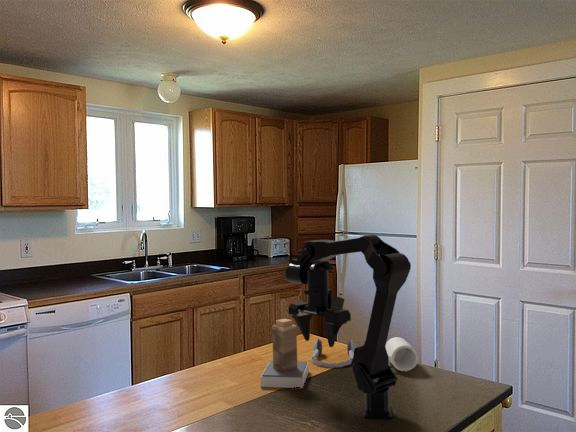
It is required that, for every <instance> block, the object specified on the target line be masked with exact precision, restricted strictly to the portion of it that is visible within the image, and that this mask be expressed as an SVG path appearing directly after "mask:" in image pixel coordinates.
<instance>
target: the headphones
mask: <svg viewBox="0 0 576 432" xmlns="http://www.w3.org/2000/svg"><path fill="white" fill-rule="evenodd" d="M363 341H364V342H363V344H365V341H366V339H363ZM322 342H323V341H322V340H320V338H317V339H316V340H315V342H314V344H313V346H312V348H313V349H312V350H313V352H312V353H311V354H312V355H311V356H312V359H311V362H312V363H313V364H315V365H316V366H319V367H322V368H323V367H324V368H332V369H333V368H343V367H346V366H348V365H351V364H352V363H351V361H352V360H353V357H354V350H355V348H356V347H357V345H356V343H357V342H354V340H353V339H350V340H349V341H348V342H347V349H346V350H347V355H348V357H349V358H348V359H346V360H345V361H341V362H334V363H333V362H331V363H329V362H323V361H320V360H318V359H317V358H318V357H319V356H321V355H322V352H323V343H322ZM359 343H361V344H362V342H360V341H359Z"/></svg>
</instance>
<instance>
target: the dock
mask: <svg viewBox="0 0 576 432" xmlns="http://www.w3.org/2000/svg"><path fill="white" fill-rule="evenodd" d="M309 371H310V369H309V362H308V361H305V360H304V361H302V360H301V361H299V360H297V368H296V369H293V370H289V371H286V372H283V371H280V370H277V369H275V368H273V360H270V361H269V362H268V363H267V365H266V367H265V368H264V369H263V371H262V374H261V375H260V377H259V378H260V379H259V381H260V387H261V388H284V389H285V388H286V389H288V388H289V389H291V388H292V389H295V388H296V387H300V388H299V389H304V387H303V386H305V384H304V383H306V380H307V377H308V374H309ZM294 387H295V388H294ZM296 389H297V388H296Z"/></svg>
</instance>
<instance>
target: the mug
mask: <svg viewBox="0 0 576 432" xmlns="http://www.w3.org/2000/svg"><path fill="white" fill-rule="evenodd" d="M387 340H388V341H386V346H385V348H386V351H387V354H388V357H389V359H388V361H389V362H390V363H391V364H392V365H393V366H394V368H395V369H396V370H398V372H399V371H400V372H403V371H405V372H410V371H412V370H413V369H414V368H415V367H416V366H417V365H418V361H419V357H418V352H417V351H416V349H415V348H414V347H413V346H412V345H411V344H410V343H409V342H408V341H407V340H405V339H404V337H403V338H402V337H399V336H396V337H395V336H394V337H392V338H390V339H387Z"/></svg>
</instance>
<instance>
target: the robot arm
mask: <svg viewBox="0 0 576 432" xmlns="http://www.w3.org/2000/svg"><path fill="white" fill-rule="evenodd" d="M355 253H362V254H363V256H364V259H365V262H366V264H367V265H368V266H369V267H370V268H371V269H372V281H374V287H375V293H374V299H373V303H372V307H371V313H370V319H369V322H368V327H367V331H366V337H365V341H364V342H365V343H363V345H360V346H356V348H355V350H354V357H353V360H352V361H351V364H352V373H353V375H354V379H355V382H356V386H357V388H358V390H359V391H361V392H362V393H363V394H364V395H365V396H364V397H365V399H364V400H365V401H364V402H365V403H364V405H363V418H373V419H375V418H377V419H392V417H393V414H392V407H391V406H390V388H391V387H394V386H396V385H397V381H398V377H397V375H396V374H395V373H394V372H393V370H392V368H391V367H390V365H389V360H388V359H389V357H388V354H387V351H386V348H385V346H386V343H387V342H388V341H387V340H388V336H389V331H390V329H391V328H390V327H391V323H392V318H393V314H394V309H395V303H396V301H397V296H398V292H399V291H400V290H401V288H402V287H403V286H404V284H406V281H407V280H408V277H409V274H410V272H411V265H412V264H411V262H410V260H409V258H408V256H406V255H405V254H404V253H401V252H400V251H399V250H398V249H397V248H395V247H393V246H392V245H390V244H388V243H387V242H385V241H384V240H382V239H381V237H379V236H378V235H375V234H367V235H365V234H364V235H361V236H358V237H352V238H347V239H345V238H344V239H341V240H339V239H338V240H332V239H317V240H316V239H315V240H307V241H305V242H304V244H303V247H302V249H301V251H300V253H299V255H298V257H297V258H291V259H290V264H289V265H287V267H286V269H285V279H287V281H288V282H289V283H292V284H299V285H307V286H306V289H305V290H304V291H303V294H304V295H307V302H306V301H297V302H293V303H290V304H289V306H288V315H291V318H293V320H294V321H295V323H296V326H298V329H299V331H300V332H301V334H302V336H303V338H304V340H305V341H306V342H308V341H310V336H311V335H310V334H311V319H312V318H313V316H319V317H323V318H324V320H325V321H326V322H325V323H323V325H324V329H325V333H326V338H327V343H328V347H329V348H333V347H334V345H335V342H336V339H337V336H338V333H339V331H340V329H341V327H342V326H343V325H344V324H347V323H348V322H351V321H352V316H351V312H350V310H348V309H345V308H344V304H345V298H342V297H341V296H337V295H334V294H333V290H332V289H329V272H330V271H334V270H335V267H334V266H333V265H332V264H331V263H330V261H328V260H331V259H333V258H335V257H336V256H339V255H345V254H355Z"/></svg>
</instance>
